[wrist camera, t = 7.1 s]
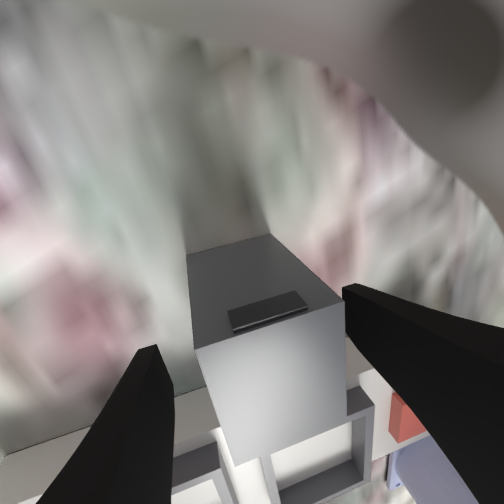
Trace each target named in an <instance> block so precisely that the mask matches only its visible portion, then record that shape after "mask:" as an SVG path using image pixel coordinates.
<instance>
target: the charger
mask: <svg viewBox="0 0 504 504" xmlns="http://www.w3.org/2000/svg"><path fill="white" fill-rule="evenodd" d="M186 261H187V273H188V284H189V296H190V307H191V319H192V330H193V342H194V351H195V354H196V357H197V359H198V362H199V365H200V368H201V371H202V374H203V377H204V380H205V382H206V385H207V388H208V391H209V394H210V397H211V400H212V403H213V406H214V408H215V411H216V414H217V417H218V420H219V423H220V426H221V429H222V432H223V434H224V437H225V440H226V443H227V446H228V449H229V452H230V455H231V457H232V460H233V463H234V466H235V467H236V466H239V465H241V464H243V463H246V462H248V461H251V460H253V459H255V458H258V457H260V456H263V455H265V454H267V453H270V452H272V451H275V450H277V449H279V448H282V447H284V446H287V445H289V444H291V443H294V442H296V441H299V440H301V439H303V438H306V437H308V436H311V435H313V434H315V433H318V432H320V431H323V430H325V429H327V428H330V427H332V426H335V425H337V424H339V423H342V422H344V421H347V396H346V346H345V301H344V300H343V299H342V298H341V297H339V296H338V295H337V294H336V293H335V292H334V291H333V290H332V289H331V288H330V287H329V286H327V285H326V284H325V283H324V282H323V281H322V280H321V279H320V278H319V277H318V276H317V275H315V274H314V273H313V272H312V271H311V270H310V269H309V268H308V267H307V266H306V265H304V264H303V263H302V262H301V261H300V260H299V259H298V258H297V257H296V256H295V255H294V254H292V253H291V252H290V251H289V250H288V249H287V248H286V247H285V246H284V245H283V244H281V243H280V242H279V241H278V240H277V239H276V238H275V237H274V236H273V235H272V234H267V235H263V236H259V237H255V238H252V239H248V240H244V241H240V242H236V243H232V244H228V245H224V246H221V247H217V248H213V249H209V250H205V251H201V252H197V253H194V254H190V255H186Z"/></svg>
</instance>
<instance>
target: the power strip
mask: <svg viewBox="0 0 504 504" xmlns="http://www.w3.org/2000/svg"><path fill="white" fill-rule="evenodd" d="M345 346H346V396H347V421H344V422H342V423H339V424H337V425H335V426H332V427H330V428H327V429H325V430H323V431H320V432H318V433H315V434H313V435H311V436H308V437H306V438H303V439H301V440H299V441H296V442H294V443H291V444H289V445H287V446H284V447H282V448H279V449H277V450H275V451H272V452H270V453H267V454H265V455H263V456H260V457H258V458H255V459H253V460H251V461H248V462H246V463H243V464H241V465H239V466H236V467H235V466H234V463H233V460H232V457H231V455H230V452H229V449H228V446H227V443H226V440H225V437H224V434H223V432H222V429H221V426H220V423H219V420H218V417H217V414H216V411H215V408H214V406H213V403H212V400H211V397H210V394H209V391H208V388H207V386H206V387H203V388H200V389H197V390H194V391H191V392H188V393H186V394H183V395H180V396H177V397H174V403H175V431H174V452H173V472H172V492H171V504H323V503H325V502H327V501H329V500H331V499H334V498H336V497H338V496H340V495H342V494H344V493H346V492H348V491H351V490H353V489H355V488H357V487H359V486H361V485H363V484H366V483H368V482H370V480H371V464H372V461H374V460H376V459H378V458H381V457H383V456H385V455H387V454H389V453H392V452H394V451H396V450H398V449H400V448H403V447H405V446H407V445H409V444H412V443H414V442H416V441H418V440H420V439H423V438H425V437H427V436H429V435H430V434H429V432H428V431H427V430H426V428H425V427H424V426H423V425H422V423H421V422H420V421H419V419H418V418H417V417H416V415H415V414H414V413H413V411H412V410H411V409H410V408H409V407H408V405H407V404H406V403H405V402H404V401H403V400H402V398H401V397H400V396H399V395H398V394H397V393H396V392H395V391H394V390H393V388H392V387H391V386H390V385H389V384H388V383H387V382H386V381H385V380H384V378H383V377H382V376H381V375H380V374H379V373H378V372H377V371H376V370H375V369H374V367H373V366H372V365H371V364H370V363H369V362H368V361H367V360H366V358H365V357H364V356H363V355H362V354H361V353H360V352H359V350H358V349H357V348H356V347H355V345H354V344H353V342H352V341H351V340H350V338H349V337H347V338H345ZM90 428H91V426H90V427H87V428H85V429H82V430H79V431H76V432H73V433H70V434H67V435H64V436H61V437H59V438H56V439H53V440H50V441H47V442H44V443H41V444H38V445H35V446H33V447H30V448H27V449H24V450H21V451H18V452H15V453H12V454H9V455H7V456H5V457H4V459H3V461H2V462H1V464H0V504H36V502H37V501H38V500H39V499H40V497H41V496H42V495H43V494H44V492H45V491H46V490H47V488H48V487H49V486H50V484H51V483H52V482H53V480H54V479H55V478H56V476H57V475H58V474H59V472H60V471H61V470H62V468H63V467H64V466H65V464H66V463H67V462H68V460H69V459H70V457H71V456H72V454H73V453H74V452H75V450H76V449H77V447H78V446H79V444H80V443H81V441H82V440H83V438H84V437H85V435H86V434H87V432H88V431H89V429H90Z"/></svg>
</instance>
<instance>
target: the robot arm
mask: <svg viewBox="0 0 504 504" xmlns="http://www.w3.org/2000/svg"><path fill="white" fill-rule="evenodd" d="M342 299H343V300H344V301H345V332H346V334H347V335H348V337H349V338H350V340H351V341H352V342H353V344H354V345H355V347H356V348H357V349H358V350H359V352H360V353H361V354H362V355H363V356H364V357H365V358H366V360H367V361H368V362H369V363H370V364H371V365H372V366H373V367H374V369H375V370H376V371H377V372H378V373H379V374H380V375H381V376H382V377H383V378H384V380H385V381H386V382H387V383H388V384H389V385H390V386H391V387H392V388H393V390H394V391H395V392H396V393H397V394H398V395H399V396H400V397H401V398H402V400H403V401H404V402H405V403H406V404H407V405H408V407H409V408H410V409H411V410H412V411H413V413H414V414H415V415H416V417H417V418H418V419H419V421H420V422H421V423H422V425H423V426H424V427H425V428H426V430H427V431H428V432H429V434H430V435H429V436H427V437H425V438H423V439H420V440H418V441H416V442H414V443H412V444H409V445H407V446H405V447H403V448H400V449H398V450H396V451H394V452H392V453H390V457H389V466H388V475H387V484H386V485H387V487H388V489H389V490H393V489H395V488H397V487H400V486H402V485H404V486H405V487H406V489H407V490H408V492H409V493H410V494H411V496H412V497H413V499H414V500H415V502H416V503H417V504H504V328H501V327H496V326H492V325H488V324H484V323H480V322H476V321H472V320H468V319H464V318H461V317H457V316H453V315H450V314H447V313H443V312H440V311H437V310H434V309H430V308H427V307H424V306H421V305H418V304H415V303H412V302H409V301H406V300H404V299H401V298H398V297H395V296H392V295H390V294H387V293H384V292H381V291H378V290H375V289H373V288H370V287H367V286H364V285H360V284H357V283H354V284H351V285H348V286H345V287H342ZM174 431H175V403H174V389H173V383H172V381H171V378H170V376H169V373H168V371H167V369H166V366H165V364H164V361H163V359H162V356H161V354H160V351H159V349H158V347H157V344H155V345H151V346H148V347H145V348H142V349H138V351H137V352H136V354H135V356H134V357H133V359H132V361H131V362H130V364H129V366H128V368H127V369H126V371H125V373H124V375H123V376H122V378H121V380H120V381H119V383H118V385H117V387H116V388H115V390H114V391H113V393H112V395H111V396H110V398H109V400H108V401H107V403H106V405H105V406H104V408H103V409H102V411H101V413H100V414H99V416H98V417H97V419H96V420H95V422H94V423H93V425H92V426H91V428H90V429H89V431H88V432H87V434H86V435H85V437H84V438H83V440H82V441H81V443H80V444H79V446H78V447H77V449H76V450H75V452H74V453H73V454H72V456H71V457H70V459H69V460H68V462H67V463H66V464H65V466H64V467H63V468H62V470H61V471H60V472H59V474H58V475H57V476H56V478H55V479H54V480H53V482H52V483H51V484H50V486H49V487H48V488H47V490H46V491H45V492H44V494H43V495H42V496H41V497H40V499H39V500H38V501H37V502H36V504H171V492H172V472H173V452H174Z"/></svg>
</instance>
